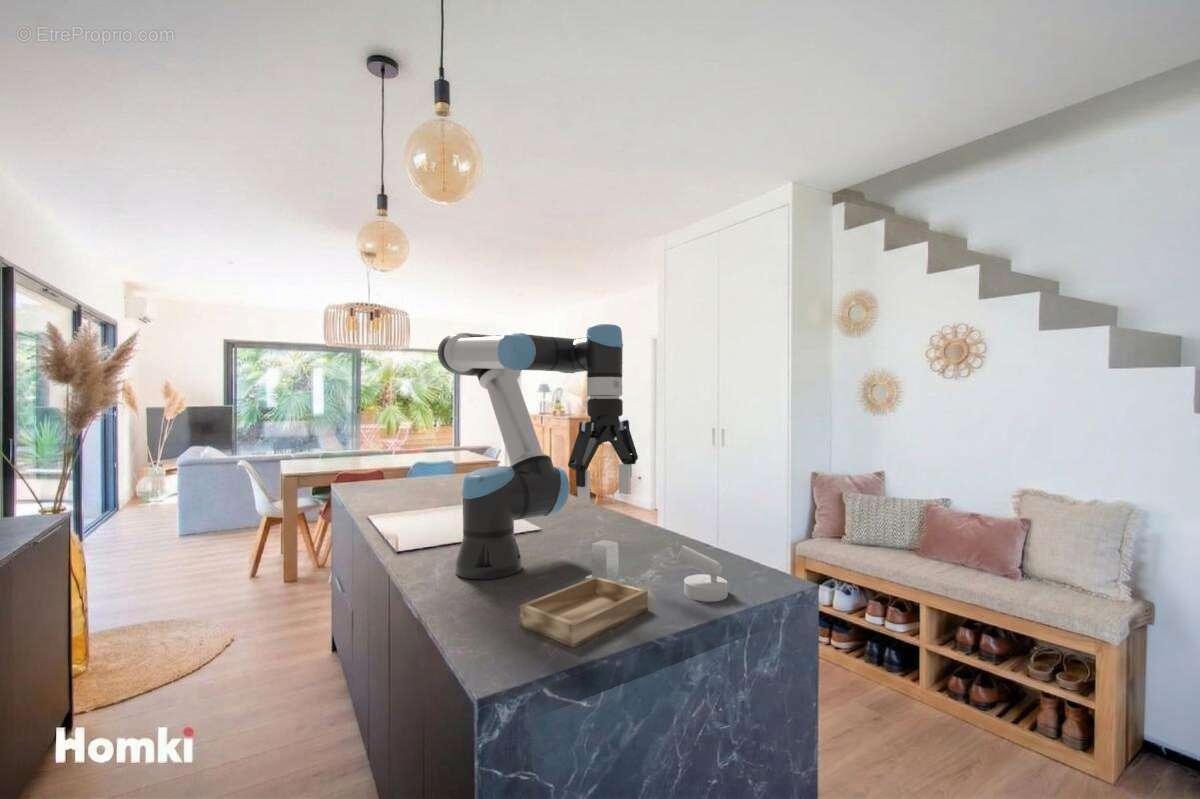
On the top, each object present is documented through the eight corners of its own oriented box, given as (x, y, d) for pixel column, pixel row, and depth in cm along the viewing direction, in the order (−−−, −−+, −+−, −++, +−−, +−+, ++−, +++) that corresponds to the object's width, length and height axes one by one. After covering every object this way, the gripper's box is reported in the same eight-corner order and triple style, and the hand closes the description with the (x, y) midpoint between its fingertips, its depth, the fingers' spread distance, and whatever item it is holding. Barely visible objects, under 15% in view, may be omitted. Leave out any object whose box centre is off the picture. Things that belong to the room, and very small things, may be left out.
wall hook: (677, 539, 112) (726, 541, 110) (678, 584, 111) (726, 587, 109) (675, 550, 103) (727, 553, 101) (675, 599, 103) (728, 603, 101)
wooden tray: (519, 625, 91) (519, 605, 91) (595, 593, 106) (595, 576, 106) (573, 647, 83) (573, 625, 83) (647, 609, 98) (647, 590, 98)
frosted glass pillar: (585, 584, 112) (584, 541, 112) (597, 579, 115) (597, 538, 115) (614, 592, 107) (613, 548, 107) (626, 587, 110) (625, 544, 110)
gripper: (577, 397, 100) (578, 509, 99) (653, 398, 118) (653, 492, 118) (550, 397, 104) (550, 504, 104) (626, 398, 123) (627, 488, 123)
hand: (605, 498), depth 111 cm, fingers open, 13 cm apart
